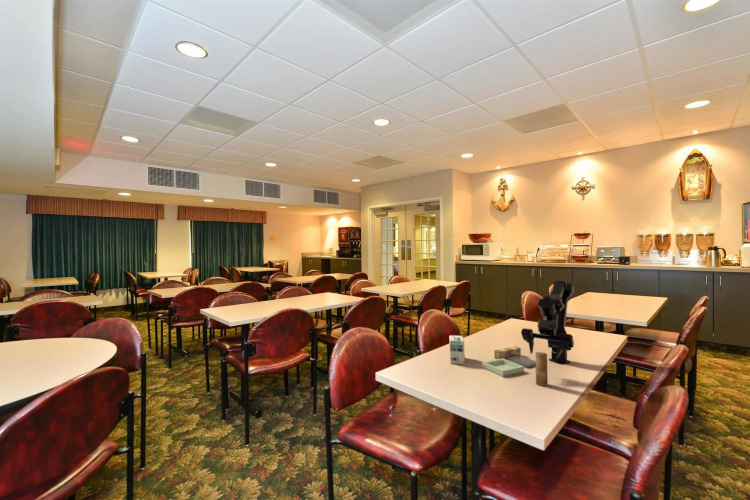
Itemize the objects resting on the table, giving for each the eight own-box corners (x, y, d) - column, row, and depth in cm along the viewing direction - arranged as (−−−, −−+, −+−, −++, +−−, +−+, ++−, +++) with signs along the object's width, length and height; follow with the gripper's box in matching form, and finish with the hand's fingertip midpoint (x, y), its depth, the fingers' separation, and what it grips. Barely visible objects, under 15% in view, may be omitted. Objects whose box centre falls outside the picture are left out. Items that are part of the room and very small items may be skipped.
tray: (502, 363, 150) (502, 358, 150) (524, 372, 139) (524, 366, 139) (482, 367, 146) (482, 362, 146) (502, 377, 135) (502, 371, 135)
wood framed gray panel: (517, 358, 159) (517, 354, 159) (538, 366, 148) (538, 362, 148) (505, 361, 155) (505, 357, 155) (526, 369, 144) (525, 364, 145)
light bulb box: (464, 364, 150) (464, 341, 150) (449, 363, 151) (449, 340, 151) (463, 357, 161) (463, 335, 161) (449, 356, 162) (449, 334, 162)
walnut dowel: (541, 381, 130) (540, 351, 130) (549, 385, 126) (549, 354, 126) (533, 383, 128) (533, 352, 128) (542, 387, 124) (542, 355, 124)
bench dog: (515, 354, 164) (515, 346, 164) (520, 356, 161) (520, 348, 161) (494, 358, 158) (494, 350, 158) (499, 360, 155) (499, 351, 155)
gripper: (521, 309, 140) (514, 340, 131) (572, 314, 128) (567, 348, 119) (527, 324, 146) (520, 355, 137) (575, 330, 134) (571, 364, 125)
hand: (543, 355), depth 129 cm, fingers open, 9 cm apart
